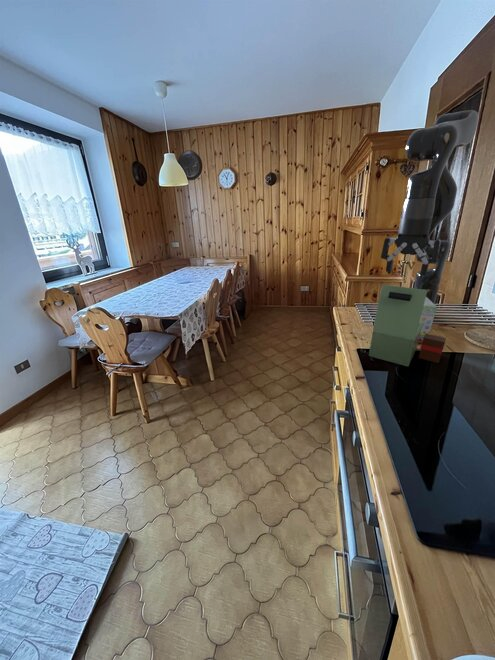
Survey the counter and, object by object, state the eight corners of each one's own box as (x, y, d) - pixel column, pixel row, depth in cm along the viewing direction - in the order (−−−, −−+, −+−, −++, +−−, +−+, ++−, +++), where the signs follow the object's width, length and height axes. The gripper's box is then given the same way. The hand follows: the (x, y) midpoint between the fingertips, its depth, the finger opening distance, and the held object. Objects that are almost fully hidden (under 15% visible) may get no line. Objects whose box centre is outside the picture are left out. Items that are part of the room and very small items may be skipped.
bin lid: (382, 284, 91) (378, 285, 87) (427, 290, 84) (425, 291, 80) (373, 329, 96) (368, 332, 92) (414, 339, 89) (412, 342, 85)
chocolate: (420, 353, 100) (425, 333, 96) (440, 358, 96) (446, 337, 93) (418, 358, 97) (423, 337, 94) (438, 363, 94) (445, 342, 90)
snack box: (428, 344, 105) (438, 306, 98) (411, 343, 106) (420, 306, 100) (410, 320, 124) (418, 287, 117) (396, 320, 125) (403, 287, 118)
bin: (380, 339, 110) (384, 316, 106) (416, 348, 103) (422, 323, 99) (368, 355, 100) (372, 331, 96) (408, 366, 93) (414, 340, 89)
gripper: (449, 214, 75) (434, 274, 82) (391, 214, 83) (382, 269, 90) (446, 217, 70) (430, 281, 77) (384, 217, 78) (375, 275, 85)
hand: (404, 274), depth 83 cm, fingers open, 8 cm apart
